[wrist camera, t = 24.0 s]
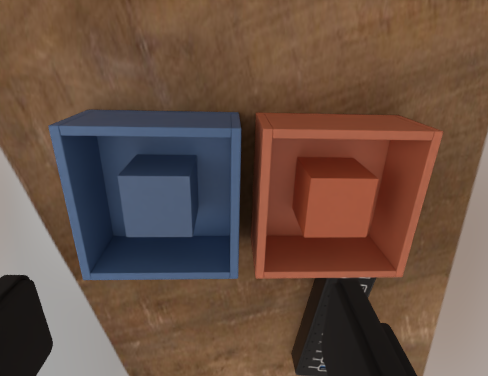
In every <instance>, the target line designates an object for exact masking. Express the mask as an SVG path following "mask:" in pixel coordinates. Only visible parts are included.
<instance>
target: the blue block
mask: <svg viewBox="0 0 488 376" xmlns="http://www.w3.org/2000/svg"><path fill="white" fill-rule="evenodd" d="M118 183H119V190H120V197H121V204H122V211H123V217H124V224H125V231H126V237H193V233H194V228H195V223H196V218H197V213H198V208H199V205H198V178H197V155H150V154H137V155H136V156H135V157H134V158H133V159H132V160H131V161H130V163H129V164H128V165H127V166H126V167H125V168H124V169H123V170H122V171H121V173H120V174H119V175H118Z"/></svg>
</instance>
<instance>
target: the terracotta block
mask: <svg viewBox="0 0 488 376" xmlns="http://www.w3.org/2000/svg"><path fill="white" fill-rule="evenodd" d="M378 180H379V179H378V178H377V177H376V176H375V175H374V174H372V173H371V172H370V171H369V170H368V169H366V168H365V167H364V166H363V165H362V164H361V163H359V162H358V161H357V160H356V159H355V158H343V157H297V163H296V173H295V183H294V194H293V204H292V209H293V212H294V214H295V217H296V219H297V222H298V224H299V226H300V229H301V231H302V234H303V236H304V237H305V238H314V237H366V236H367V232H368V227H369V222H370V218H371V213H372V208H373V204H374V199H375V194H376V190H377V185H378Z"/></svg>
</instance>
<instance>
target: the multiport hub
mask: <svg viewBox="0 0 488 376" xmlns="http://www.w3.org/2000/svg"><path fill="white" fill-rule="evenodd" d="M338 279H339V278H315V281H314V284H313V288H312V291H311V294H310V297H309V300H308V303H307V306H306V310H305V313H304V316H303V319H302V322H301V325H300V328H299V332H298V335H297V338H296V341H295V344H294V347H293V350H292V359H293V363H294V368H295V373H296V374H297V375H302V376H328V375H327V371H326V368H325V364H324V360H323V357H322V351H321V341H322V335H323V329H324V324H325V318H326V312H327V306H328V300H329V295H330V289H331V284H332V283H337V280H338ZM343 279H358V281H359V282H360V284H361V286H362V288H363V290H364V292H365V294H366V296H367V298H368V297H369V294H370V292H371V289H372V287H373V285H374V282H375V280H376V277H359V278H343Z"/></svg>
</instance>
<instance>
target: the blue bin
mask: <svg viewBox="0 0 488 376" xmlns="http://www.w3.org/2000/svg"><path fill="white" fill-rule="evenodd" d="M49 131H50V135H51V140H52V144H53V149H54V153H55V157H56V162H57V166H58V171H59V175H60V180H61V184H62V188H63V193H64V197H65V202H66V206H67V211H68V215H69V219H70V224H71V228H72V233H73V237H74V242H75V246H76V250H77V255H78V259H79V264H80V268H81V272H82V277H83V280H146V279H230V278H231V279H237V278H238V259H239V214H240V168H241V124H240V118H239V113H238V112H189V111H132V110H86V111H84V112H81V113H79V114H76V115H74V116H71V117H69V118H66V119H64V120H61V121H59V122H56V123H54V124H51V125H49ZM137 154H150V155H197V178H198V205H199V208H198V213H197V218H196V223H195V228H194V233H193V237H126V231H125V224H124V217H123V211H122V204H121V197H120V190H119V183H118V175H119V174H120V173H121V171H122V170H123V169H124V168H125V167H126V166H127V165H128V164H129V163H130V161H131V160H132V159H133V158H134V157H135V156H136V155H137Z"/></svg>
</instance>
